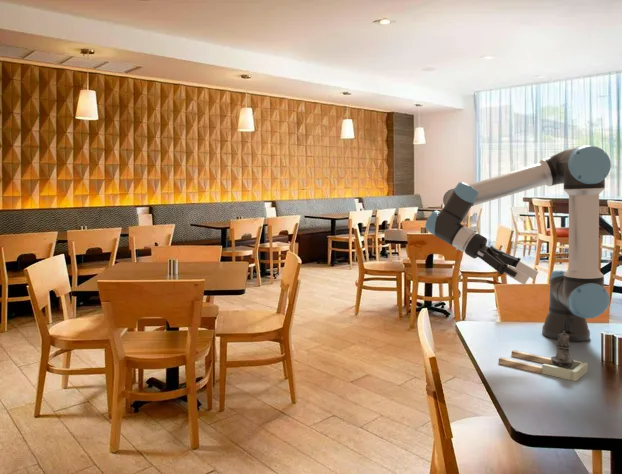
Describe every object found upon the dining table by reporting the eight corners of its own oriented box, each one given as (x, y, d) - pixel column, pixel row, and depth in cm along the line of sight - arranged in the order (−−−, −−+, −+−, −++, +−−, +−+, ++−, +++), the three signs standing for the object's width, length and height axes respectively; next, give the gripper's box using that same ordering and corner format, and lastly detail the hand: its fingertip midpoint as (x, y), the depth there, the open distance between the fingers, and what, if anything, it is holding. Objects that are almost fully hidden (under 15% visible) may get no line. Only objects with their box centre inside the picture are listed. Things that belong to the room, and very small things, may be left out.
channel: (498, 363, 162) (498, 358, 162) (513, 354, 170) (513, 350, 170) (541, 373, 154) (541, 368, 154) (554, 364, 162) (555, 359, 162)
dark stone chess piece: (575, 376, 152) (578, 333, 151) (552, 374, 153) (555, 332, 152) (570, 369, 158) (572, 328, 156) (548, 367, 159) (550, 327, 158)
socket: (541, 373, 154) (542, 364, 154) (554, 364, 162) (555, 356, 161) (575, 381, 148) (576, 372, 148) (587, 371, 156) (587, 363, 155)
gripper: (476, 250, 187) (533, 283, 177) (452, 256, 166) (515, 294, 157) (486, 230, 185) (545, 263, 175) (463, 234, 164) (529, 272, 154)
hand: (531, 278), depth 166 cm, fingers open, 13 cm apart
